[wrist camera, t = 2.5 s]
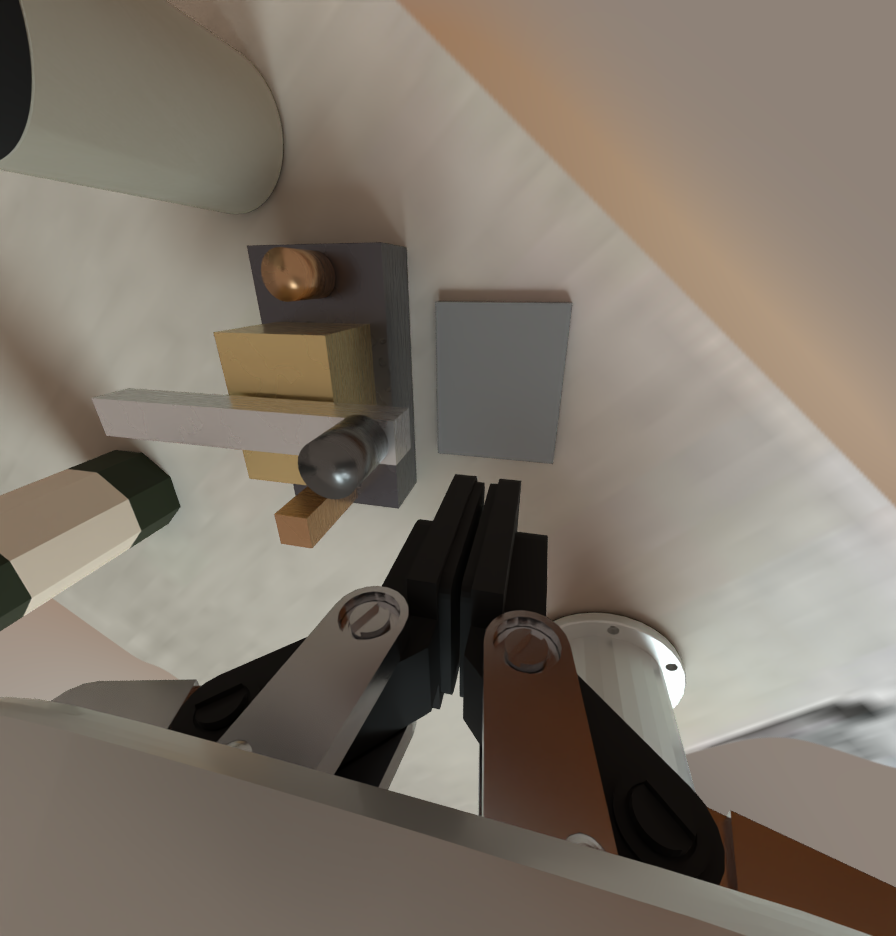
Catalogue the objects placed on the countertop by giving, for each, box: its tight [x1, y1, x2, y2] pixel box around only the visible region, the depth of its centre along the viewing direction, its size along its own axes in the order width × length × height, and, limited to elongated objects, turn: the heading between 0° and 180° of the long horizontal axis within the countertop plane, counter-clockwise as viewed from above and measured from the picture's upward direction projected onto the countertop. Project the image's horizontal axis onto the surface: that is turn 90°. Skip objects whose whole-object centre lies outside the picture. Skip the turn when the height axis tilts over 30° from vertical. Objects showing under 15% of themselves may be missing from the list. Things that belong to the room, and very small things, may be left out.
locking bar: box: [91, 388, 411, 499], centre depth 18 cm, size 2×16×5 cm, turn 90°
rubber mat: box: [436, 301, 572, 464], centre depth 26 cm, size 10×8×1 cm
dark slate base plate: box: [247, 242, 416, 548], centre depth 24 cm, size 16×8×10 cm, turn 0°
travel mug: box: [0, 0, 283, 214], centre depth 16 cm, size 8×8×18 cm
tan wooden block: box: [214, 322, 377, 485], centre depth 23 cm, size 8×6×5 cm
